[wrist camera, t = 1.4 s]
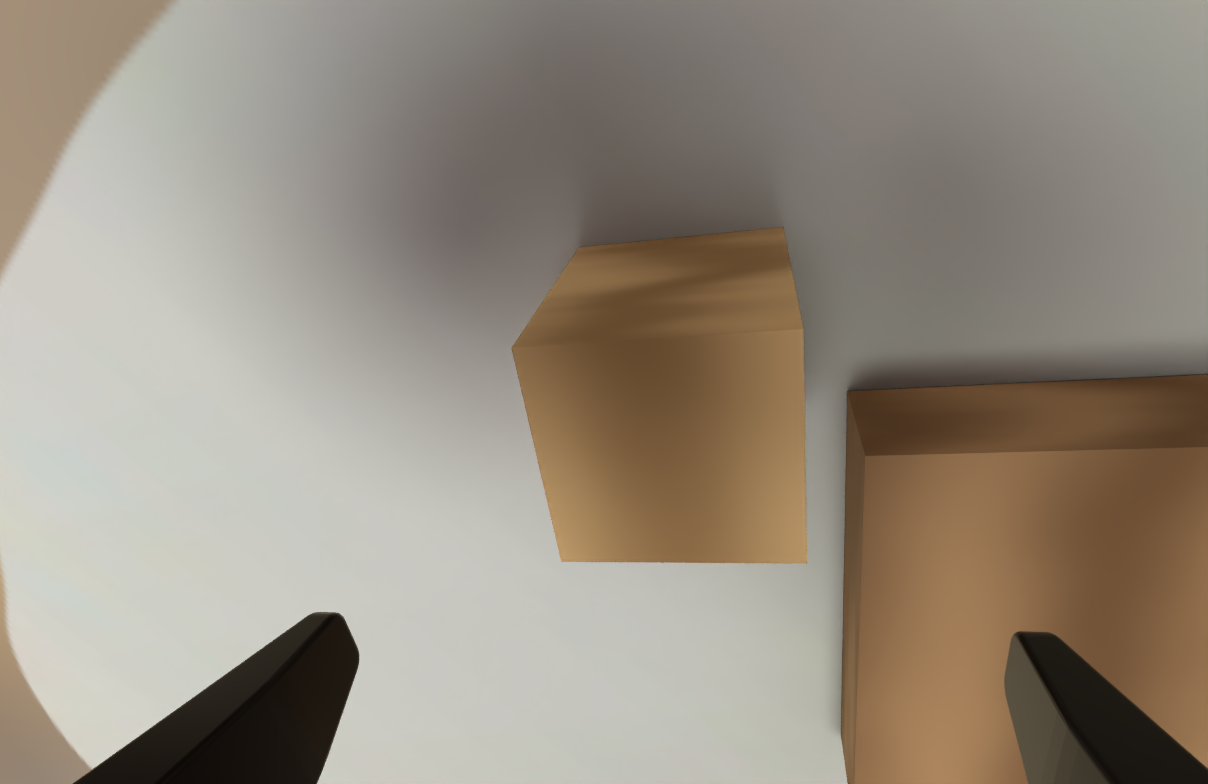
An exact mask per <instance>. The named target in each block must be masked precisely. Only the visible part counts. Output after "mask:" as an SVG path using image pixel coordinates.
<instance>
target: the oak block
mask: <svg viewBox="0 0 1208 784" xmlns="http://www.w3.org/2000/svg"><path fill="white" fill-rule="evenodd" d="M512 352H513V356H514V361H515V365H516V369H517V374H518V378H519V382H520V386H521V391H522V395H523V399H524V404H525V408H526V412H527V416H528V421H529V425H530V429H531V434H532V438H533V442H534V446H535V451H536V455H537V459H538V464H539V468H540V472H541V477H542V481H543V485H544V489H545V494H546V498H547V502H548V507H549V511H550V515H551V519H552V524H553V528H554V532H555V537H556V541H557V545H558V549H559V554H560V558H561V562H685V563H807V536H806V466H805V396H804V329H803V324H802V319H801V314H800V309H799V304H798V299H797V294H796V289H795V283H794V278H793V273H792V268H791V263H790V258H789V253H788V248H787V243H786V238H785V233H784V228H783V227H780V228H770V229H759V230H749V231H739V232H729V233H719V234H709V235H698V236H688V237H678V238H668V239H658V240H648V241H637V242H627V243H617V244H607V245H597V246H586V247H579V248H578V250H577V251H576V253H575V254H574V256H573V257H572V259H571V260H570V262H569V263H568V265H567V266H566V268H565V269H564V271H563V272H562V274H561V275H560V277H559V278H558V280H557V281H556V283H555V284H554V286H553V287H552V289H551V290H550V292H549V293H548V295H547V296H546V298H545V299H544V301H543V302H542V304H541V305H540V307H539V308H538V310H537V311H536V312H535V314H534V315H533V317H532V318H531V320H530V321H529V323H528V324H527V326H526V327H525V329H524V330H523V332H522V333H521V335H520V336H519V338H518V339H517V341H516V342H515V344H514V345H513V347H512Z"/></svg>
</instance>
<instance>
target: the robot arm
mask: <svg viewBox="0 0 1208 784" xmlns="http://www.w3.org/2000/svg"><path fill="white" fill-rule="evenodd" d="M358 665H359V651H358V648H357V645H356V643H355V641H354V639H353V636H352V634H351V632H350V630H349V628H348V625H347V623H346V621H345V619H344V617H343V616H342V615H340V614H339V613H335V612H315V613H312V614H310V615H308V616H307V617H305V618H304V619H303V620H301V621H300V622H298V623H297V624H296V625H294V626H293V627H291V628H290V629H289V630H287V631H286V632H284V633H283V634H282V635H280V636H279V637H277V638H276V639H275V640H273V641H272V642H270V643H269V644H268V645H266V646H265V647H263V648H262V649H261V650H259V651H258V652H256V653H255V654H254V655H252V656H251V657H249V658H248V659H247V660H245V661H244V662H242V663H241V664H240V665H238V666H237V667H235V668H234V669H233V670H231V671H230V672H228V673H227V674H226V675H224V676H223V677H221V678H220V679H219V680H217V681H216V682H214V683H213V684H212V685H210V686H209V687H207V688H206V689H205V690H203V691H202V692H200V693H199V694H198V695H196V696H195V697H193V698H192V699H191V700H189V701H188V702H186V703H185V704H184V705H182V706H181V707H179V708H178V709H177V710H175V711H174V712H172V713H171V714H170V715H168V716H167V717H165V718H164V719H163V720H161V721H160V722H158V723H157V724H156V725H154V726H153V727H151V728H150V729H149V730H147V731H146V732H144V733H143V734H142V735H140V736H139V737H137V738H136V739H135V740H133V741H132V742H130V743H129V744H127V745H126V746H125V747H123V748H122V749H120V750H119V751H118V752H116V753H115V754H113V755H112V756H111V757H109V758H108V759H106V760H105V761H104V762H102V763H101V764H99V765H98V766H97V767H95V768H94V769H92V770H91V771H90V772H88V773H87V774H85V775H84V776H83V777H81V778H80V779H79V780H77V781H76V782H74V783H73V784H317V782H318V780H319V777H320V775H321V772H322V770H323V767H324V765H325V762H326V759H327V757H328V754H329V751H330V748H331V745H332V742H333V739H334V737H335V734H336V731H337V728H338V725H339V722H340V719H341V716H342V713H343V710H344V707H345V704H346V701H347V699H348V696H349V693H350V690H351V687H352V684H353V681H354V678H355V675H356V672H357V669H358ZM1004 689H1005V695H1006V700H1007V704H1008V708H1009V711H1010V715H1011V719H1012V723H1013V727H1014V731H1015V735H1016V738H1017V742H1018V746H1019V750H1020V754H1021V758H1022V761H1023V765H1024V769H1025V773H1026V777H1027V781H1028V784H1208V768H1207V767H1206V766H1204V765H1203V764H1202V763H1201V762H1200V761H1199V760H1198V759H1197V758H1195V757H1194V756H1193V755H1192V754H1191V753H1190V752H1189V751H1187V750H1186V749H1185V748H1184V747H1183V746H1182V745H1181V744H1179V743H1178V742H1177V741H1176V740H1175V739H1174V738H1173V737H1172V736H1170V735H1169V734H1168V733H1167V732H1166V731H1165V730H1164V729H1162V728H1161V727H1160V726H1159V725H1158V724H1157V723H1156V722H1155V721H1153V720H1152V719H1151V718H1150V717H1149V716H1148V715H1147V714H1145V713H1144V712H1143V711H1142V710H1141V709H1140V708H1139V707H1137V706H1136V705H1135V704H1134V703H1133V702H1132V701H1131V700H1130V699H1128V698H1127V697H1126V696H1125V695H1124V694H1123V693H1122V692H1120V691H1119V690H1118V689H1117V688H1116V687H1115V686H1114V685H1113V684H1111V683H1110V682H1109V681H1108V680H1107V679H1106V678H1105V677H1103V676H1102V675H1101V674H1100V673H1099V672H1098V671H1097V670H1095V669H1094V668H1093V667H1092V666H1091V665H1090V664H1089V663H1088V662H1086V661H1085V660H1084V659H1083V658H1082V657H1081V656H1080V655H1078V654H1077V653H1076V652H1075V651H1074V650H1073V649H1072V648H1071V647H1069V646H1068V645H1067V644H1066V643H1065V642H1064V641H1063V640H1061V639H1060V638H1059V637H1058V636H1056V635H1054V634H1052V633H1050V632H1032V631H1018V632H1016V633H1014V634H1013V636H1012V638H1011V641H1010V647H1009V652H1008V658H1007V664H1006V670H1005V675H1004Z"/></svg>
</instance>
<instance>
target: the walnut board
mask: <svg viewBox="0 0 1208 784" xmlns="http://www.w3.org/2000/svg"><path fill="white" fill-rule="evenodd" d="M1018 631H1032V632H1050V633H1052V634H1054V635H1056V636H1058V637H1059V638H1060V639H1061V640H1063V641H1064V642H1065V643H1066V644H1067V645H1068V646H1069V647H1071V648H1072V649H1073V650H1074V651H1075V652H1076V653H1077V654H1078V655H1080V656H1081V657H1082V658H1083V659H1084V660H1085V661H1086V662H1088V663H1089V664H1090V665H1091V666H1092V667H1093V668H1094V669H1095V670H1097V671H1098V672H1099V673H1100V674H1101V675H1102V676H1103V677H1105V678H1106V679H1107V680H1108V681H1109V682H1110V683H1111V684H1113V685H1114V686H1115V687H1116V688H1117V689H1118V690H1119V691H1120V692H1122V693H1123V694H1124V695H1125V696H1126V697H1127V698H1128V699H1130V700H1131V701H1132V702H1133V703H1134V704H1135V705H1136V706H1137V707H1139V708H1140V709H1141V710H1142V711H1143V712H1144V713H1145V714H1147V715H1148V716H1149V717H1150V718H1151V719H1152V720H1153V721H1155V722H1156V723H1157V724H1158V725H1159V726H1160V727H1161V728H1162V729H1164V730H1165V731H1166V732H1167V733H1168V734H1169V735H1170V736H1172V737H1173V738H1174V739H1175V740H1176V741H1177V742H1178V743H1179V744H1181V745H1182V746H1183V747H1184V748H1185V749H1186V750H1187V751H1189V752H1190V753H1191V754H1192V755H1193V756H1194V757H1195V758H1197V759H1198V760H1199V761H1200V762H1201V763H1202V764H1203V765H1204V766H1206V767H1207V768H1208V375H1188V376H1166V377H1145V378H1123V379H1102V380H1080V381H1059V382H1037V383H1016V384H994V385H973V386H951V387H930V388H908V389H887V390H865V391H847V432H846V486H845V541H844V595H843V650H842V704H841V739H842V746H843V753H844V760H845V768H846V775H847V782H848V784H1028V781H1027V777H1026V773H1025V769H1024V765H1023V761H1022V758H1021V754H1020V750H1019V746H1018V742H1017V738H1016V735H1015V731H1014V727H1013V723H1012V719H1011V715H1010V711H1009V708H1008V704H1007V700H1006V695H1005V689H1004V675H1005V670H1006V664H1007V658H1008V652H1009V647H1010V641H1011V638H1012V636H1013V634H1014V633H1016V632H1018Z"/></svg>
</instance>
